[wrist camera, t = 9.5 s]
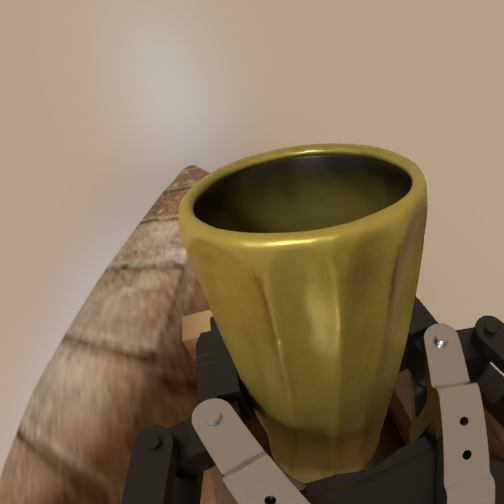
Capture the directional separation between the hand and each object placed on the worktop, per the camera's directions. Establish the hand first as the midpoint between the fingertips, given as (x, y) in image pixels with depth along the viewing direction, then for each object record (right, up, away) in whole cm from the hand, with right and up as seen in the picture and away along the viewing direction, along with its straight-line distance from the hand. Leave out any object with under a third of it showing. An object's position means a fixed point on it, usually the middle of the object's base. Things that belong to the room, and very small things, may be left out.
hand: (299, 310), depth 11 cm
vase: (+2, -8, +2) cm, 9 cm away
